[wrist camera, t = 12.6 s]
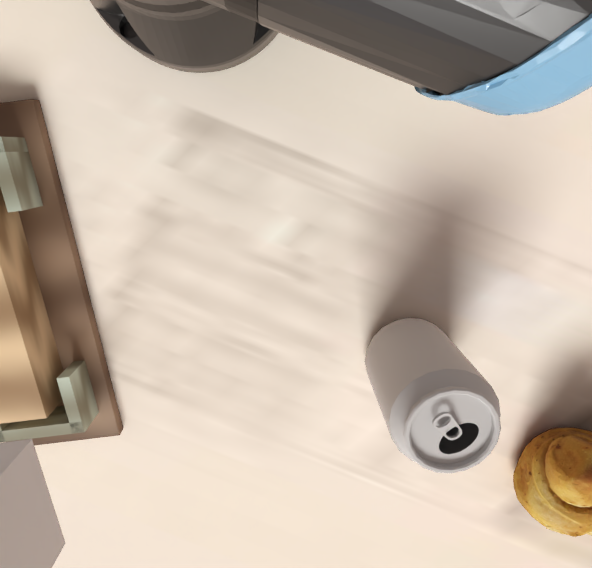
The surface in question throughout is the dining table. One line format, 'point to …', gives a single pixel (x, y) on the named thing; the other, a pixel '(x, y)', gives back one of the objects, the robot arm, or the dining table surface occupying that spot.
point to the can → (432, 397)
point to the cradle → (55, 284)
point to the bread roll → (557, 480)
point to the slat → (24, 331)
